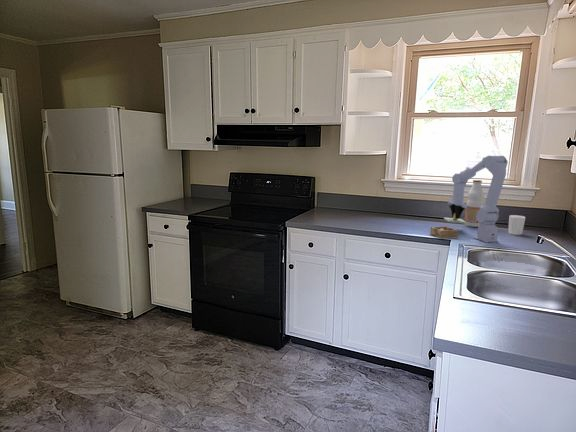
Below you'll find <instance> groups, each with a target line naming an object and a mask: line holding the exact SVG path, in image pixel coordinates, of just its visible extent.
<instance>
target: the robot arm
mask: <svg viewBox="0 0 576 432" xmlns="http://www.w3.org/2000/svg"><path fill="white" fill-rule="evenodd" d="M481 159H482V160H480V161H479V162H477V163H476V164H475V165H473V166H467V167H465V169H463V170H461V171H460V172H459V173H454V175H453V176H452V178H451V181H452V183H453V192H452V200H450V199H449V200H447V204H449V209H450V212H451V216H452V217H451V218H453V216H454V213H456V215H455V217H456V219H461V218H460V217H461V215H462V213H463V212H464V210H466V208H467V204H466V203H465V202H464V197H465V189H466V188H465V187H466V185H467V183H468V182H469V180H470V179H472V178H474V177H475V176H476V174H477V173H478V172H480V171H482V170H484V169H487V171H488V172H489V173H490V174H491V175H492V178H491V181H490V184H489V188H488V191H487V194H486V198H485V201H484V203H483V206H482V207H480V209H479V211H478V212H477V214H476V219H477V221H478V223H479V226H478V227H477V235H476V236H473V238H474V239H475V240H476V239H477V240H479V241H481V242H484V243H495V242H499V240H498V235H499V228H498V226H496V225H495V224H496V222H497V221H498V220H499V216H500V215H499V212H500V209H499V208H498V207H497V206H498V202H499V198H500V195H501V192H502V189H503V185H504V183H505V179H506V176H507V167H508V163H509V161H508V159H507V158H506V156H504V155H489V154H488V155H485V157H483V158H481Z"/></svg>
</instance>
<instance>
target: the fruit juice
mask: <svg viewBox="0 0 576 432" xmlns="http://www.w3.org/2000/svg"><path fill="white" fill-rule="evenodd" d="M482 183H483V181H482V179H472V185H471V187H470V190H469V191H468V192H467V200H466V203H465V204H467V208H465V211H464V212H465V215H464V221H466V222H467V224H466V223H463V224H464V225H465V226H467V227H473V228H475V227H476V228H478V226H479V223H478V221H477V219H476V214H477V212H478V211H479V209H480V207H482V206H483V205H484V197H485V192H484V190H483V187H482Z"/></svg>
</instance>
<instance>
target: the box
mask: <svg viewBox="0 0 576 432" xmlns="http://www.w3.org/2000/svg"><path fill="white" fill-rule="evenodd" d="M441 228H442V229H444V230H447V231H442V230H440V229H441ZM430 235H431V236H435V237H437V238H439V239H455V238H459V237H458V236H459V230H458V229H456V228H452V227H450V226H448V225H447V226H431V227H430Z"/></svg>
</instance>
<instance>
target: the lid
mask: <svg viewBox="0 0 576 432" xmlns="http://www.w3.org/2000/svg"><path fill="white" fill-rule="evenodd" d="M455 215H456V213H454V216H453V218H452V217H443V219H444V220H445V221H446V222H447V223H456V224H458V223H459V224H464V223H466V224H467V222H466V221H465V219H462V218H459V219H456V217H455Z"/></svg>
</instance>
